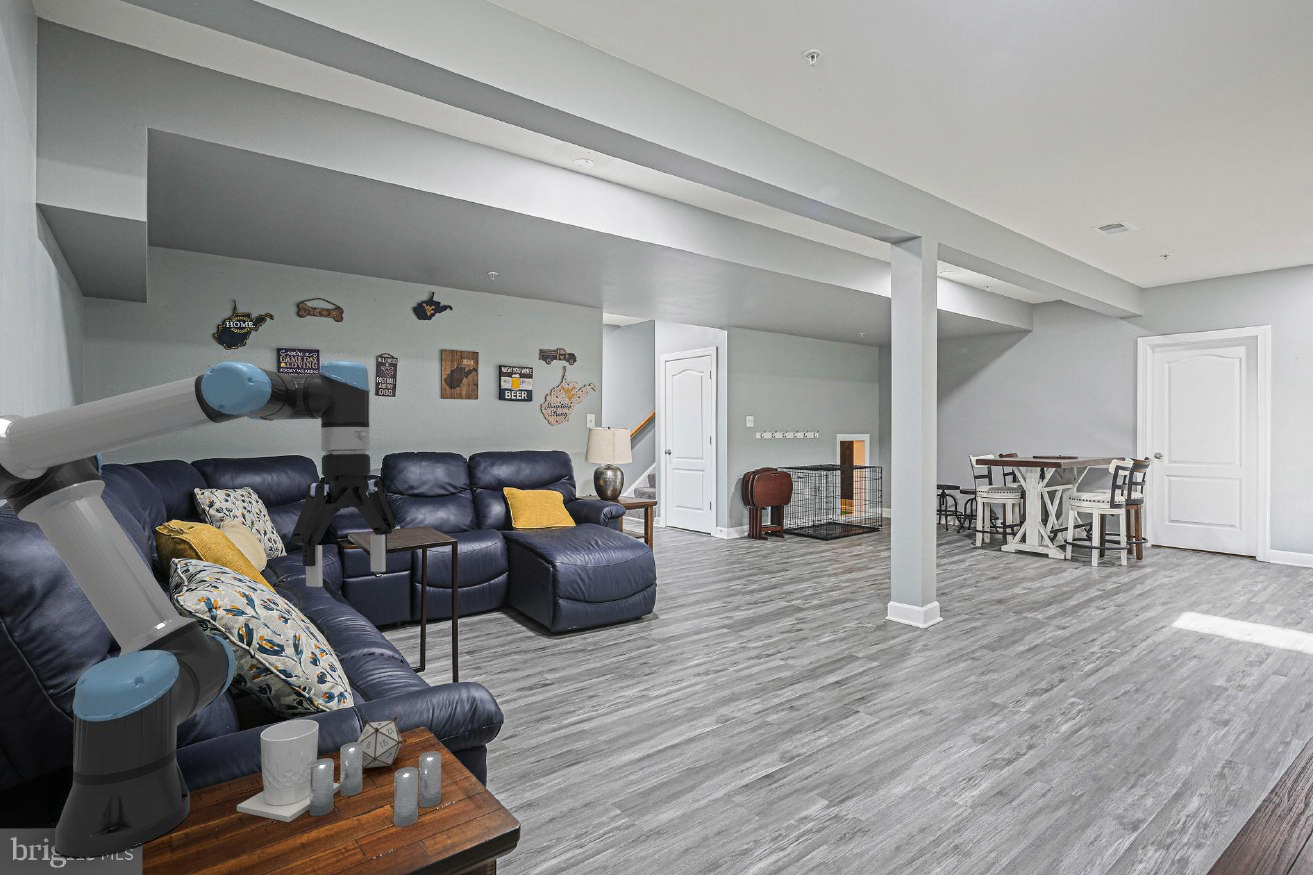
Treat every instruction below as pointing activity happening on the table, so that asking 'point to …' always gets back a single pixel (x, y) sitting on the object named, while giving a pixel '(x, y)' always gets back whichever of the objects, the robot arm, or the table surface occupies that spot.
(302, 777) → the white cup
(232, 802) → the table surface
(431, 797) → the spacer posts
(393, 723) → the game die
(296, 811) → the coaster
